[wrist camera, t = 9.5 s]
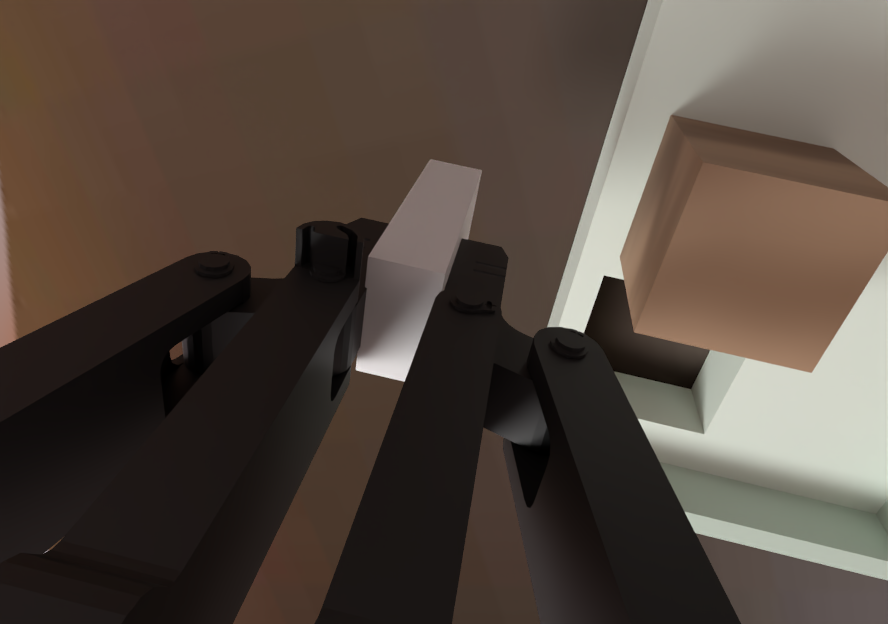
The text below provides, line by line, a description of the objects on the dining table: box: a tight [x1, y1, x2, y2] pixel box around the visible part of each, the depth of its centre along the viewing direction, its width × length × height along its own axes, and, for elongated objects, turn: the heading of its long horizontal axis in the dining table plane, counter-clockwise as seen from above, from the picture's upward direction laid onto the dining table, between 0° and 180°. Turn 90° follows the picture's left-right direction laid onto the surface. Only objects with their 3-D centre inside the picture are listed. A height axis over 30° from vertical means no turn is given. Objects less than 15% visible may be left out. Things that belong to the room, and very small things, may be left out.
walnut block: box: [620, 115, 888, 373], centre depth 18 cm, size 5×5×5 cm
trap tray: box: [547, 0, 888, 580], centre depth 19 cm, size 26×16×6 cm, turn 171°
